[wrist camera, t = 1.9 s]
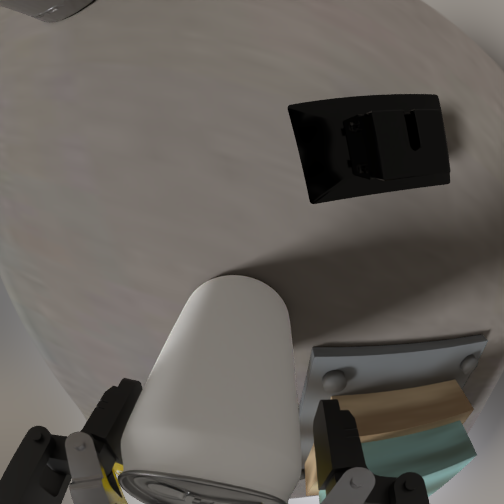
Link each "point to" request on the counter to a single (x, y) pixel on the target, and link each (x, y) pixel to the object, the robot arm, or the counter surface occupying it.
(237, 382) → the can
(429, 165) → the black slotted housing
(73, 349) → the counter surface
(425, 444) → the brick tower
